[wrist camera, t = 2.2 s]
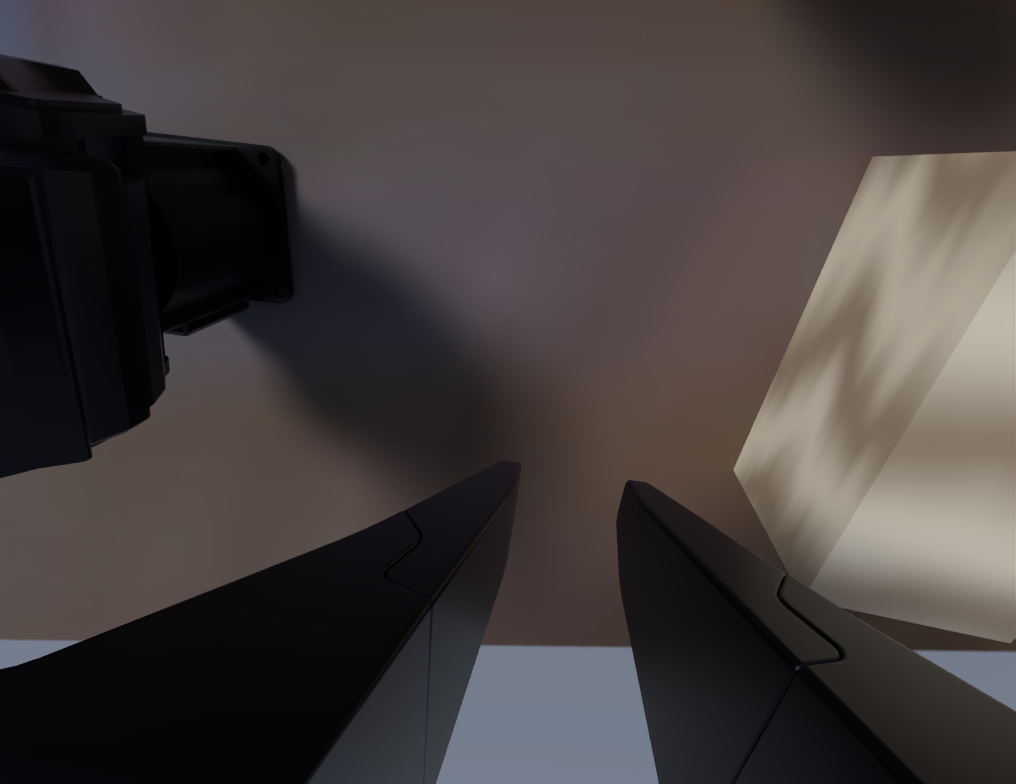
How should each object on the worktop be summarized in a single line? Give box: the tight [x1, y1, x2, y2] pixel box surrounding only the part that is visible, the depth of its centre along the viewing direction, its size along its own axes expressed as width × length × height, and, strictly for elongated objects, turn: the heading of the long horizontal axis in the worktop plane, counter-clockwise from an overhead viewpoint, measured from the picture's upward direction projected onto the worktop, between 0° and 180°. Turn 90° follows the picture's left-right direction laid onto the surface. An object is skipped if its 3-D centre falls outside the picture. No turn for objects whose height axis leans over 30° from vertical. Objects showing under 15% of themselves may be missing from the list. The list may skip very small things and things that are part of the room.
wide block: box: [734, 151, 1016, 643], centre depth 17 cm, size 14×7×8 cm, turn 171°
